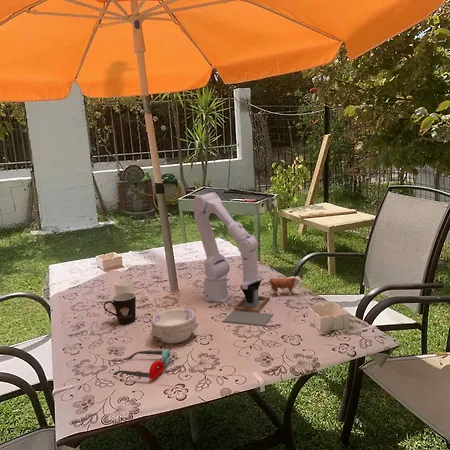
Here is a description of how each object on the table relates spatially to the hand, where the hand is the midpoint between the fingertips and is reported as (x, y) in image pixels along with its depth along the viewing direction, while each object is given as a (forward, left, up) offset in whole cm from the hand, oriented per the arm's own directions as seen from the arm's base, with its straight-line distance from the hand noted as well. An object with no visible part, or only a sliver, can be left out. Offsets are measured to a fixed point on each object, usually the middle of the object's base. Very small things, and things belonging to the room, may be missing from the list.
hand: (252, 300), depth 186 cm
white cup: (-52, -11, -2) cm, 53 cm away
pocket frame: (0, 0, -2) cm, 2 cm away
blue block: (0, 0, -2) cm, 2 cm away
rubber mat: (+3, -13, -2) cm, 13 cm away
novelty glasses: (-15, -56, -3) cm, 58 cm away
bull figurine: (+10, +14, -2) cm, 17 cm away
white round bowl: (-16, -34, -2) cm, 38 cm away
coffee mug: (-43, -26, -2) cm, 50 cm away
